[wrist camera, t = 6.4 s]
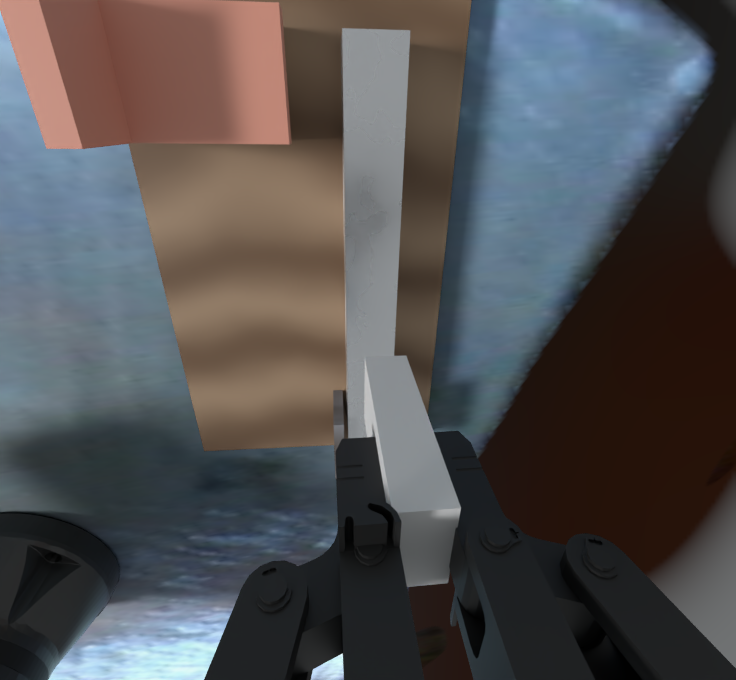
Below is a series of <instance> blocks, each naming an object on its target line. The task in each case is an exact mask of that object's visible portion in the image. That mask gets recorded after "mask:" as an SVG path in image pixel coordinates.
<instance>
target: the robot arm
mask: <svg viewBox="0 0 736 680" xmlns="http://www.w3.org/2000/svg"><path fill="white" fill-rule="evenodd" d="M364 419H365V426H366V434H367V437H364V438H347V439H342V440H341V442H340V444H339V446H338V448H337V450H336V452H335V455H336V482H337V509H338V533H337V536H336V539H335V541H334V543H333V544H332V546H331V547H330V549H329V550H327V551H326V552H325V553H324V554H323V555H322V556H320V557H318V558H316V559H315V560H312V561H310V562H308V563H305V564H303V565H301V566H298V567H297V566H296V565H295V564H292V563H290V562H287V561H272V562H269V563H267V564H265V565H262V566H260V567H259V568H258V569H256V570H255V571H254V572H253V573H252V574H251V575H249V577H248V579H247V580H246V582H245V584H244V585H243V587H242V589H241V591H240V594H239V596H238V599H237V601H236V603H235V606H234V608H233V611H232V613H231V616H230V618H229V621H228V623H227V625H226V628H225V630H224V633H223V635H222V638H221V640H220V642H219V645H218V647H217V650H216V652H215V655H214V657H213V660H212V662H211V664H210V667H209V669H208V672H207V674H206V677H205V679H204V680H310V679H311V675H312V670H313V669H314V668H316V667H318V666H319V665H321V664H323V663H325V662H327V661H329V660H331V659H333V658H334V657H336V656H338V655H340V654H342V653H343V667H344V680H424V676H423V671H422V665H421V660H420V654H419V649H418V644H417V638H416V633H415V627H414V622H413V616H412V611H411V606H410V601H409V595H408V589H407V587H411V586H421V585H432V584H443V583H448V579H449V574H450V572H451V575H452V579H453V582H454V586H455V594H454V600H453V605H452V610H451V615H450V618H451V626H456V622H457V619H458V623H459V626H460V630H461V634H462V637H463V641H464V645H465V649H466V652H467V656H468V660H469V663H470V667H471V671H472V675H473V678H474V680H736V668H735V667H734V666H733V665H732V664H731V663H730V662H729V661H728V660H727V659H726V658H725V657H724V656H723V655H722V654H721V653H720V652H719V651H718V650H717V649H716V648H715V647H714V645H713V644H712V643H711V642H710V641H709V640H708V639H707V638H706V637H705V636H704V635H703V634H702V633H701V632H700V631H699V630H698V629H697V628H696V627H695V626H694V625H693V624H692V623H691V622H690V621H689V620H688V619H687V618H686V616H685V615H684V614H683V613H682V612H681V611H680V610H679V609H678V608H677V607H676V606H675V605H674V604H673V603H672V602H671V601H670V600H669V599H668V598H667V597H666V596H665V595H664V594H663V593H662V592H661V591H660V590H659V589H658V587H656V585H655V584H654V583H653V582H652V581H651V580H650V579H649V578H648V577H647V576H646V575H645V574H644V573H643V572H642V571H641V570H640V569H639V568H638V567H637V566H636V565H635V564H634V563H633V562H632V561H631V560H630V558H629V557H628V556H627V555H625V553H624V552H623V551H621V550H620V549H619V548H618V547H617V546H615V545H614V544H613V543H612V542H610V541H608V540H606V539H604V538H602V537H600V536H596V535H592V534H587V533H585V534H578V535H575V536H573V537H572V538H570V539H569V540H568V543H567V545H562V544H558V543H553V542H549V541H544V540H540V539H537V538H533V537H530V536H528V535H526V534H524V533H522V531H521V530H520V528H519V527H518V526H517V525H515V524H514V523H513V522H512V521H510V520H509V519H507V518H506V517H505V515H504V514H503V512H502V510H501V508H500V506H499V503H498V501H497V499H496V497H495V495H494V493H493V491H492V488H491V486H490V484H489V482H488V480H487V478H486V475H485V473H484V471H483V470H482V467H481V464H480V462H479V460H478V459H477V456H476V454H475V451H474V449H473V447H472V445H471V443H470V442H469V441H468V440H467V439H466V438H465V437H464V436H463V435H462V434H461V433H460V432H459V431H448V432H434V431H433V429H432V426H431V423H430V420H429V418H428V415H427V412H426V409H425V406H424V404H423V401H422V398H421V395H420V392H419V390H418V387H417V384H416V381H415V379H414V376H413V373H412V370H411V367H410V365H409V362H408V359H407V356H406V355H405V356H380V357H365V389H364ZM118 579H119V566H118V562H117V560H116V558H115V556H114V555H113V553H112V552H111V551H110V550H109V549H108V548H107V546H105V545H104V544H103V543H102V542H101V541H100V540H98V539H97V538H96V537H94V536H93V535H91V534H89V533H88V532H86V531H84V530H82V529H80V528H78V527H75V526H73V525H70V524H68V523H65V522H62V521H59V520H55V519H52V518H47V517H42V516H37V515H29V514H13V513H9V514H0V680H48V679H49V677H50V675H51V673H52V672H53V670H54V669H55V667H56V666H57V665H58V663H59V662H60V661H61V660H62V659H63V657H64V656H65V655H66V654H67V653H68V651H69V650H70V649H71V648H72V647H73V645H74V644H75V643H76V642H77V641H78V639H79V638H80V637H81V636H82V634H83V633H84V632H85V631H86V629H87V628H88V627H89V626H90V624H91V623H92V622H93V621H94V619H95V618H96V617H97V616H98V615H99V614H100V613H101V612H102V611H103V609H104V608H105V606H106V605H107V603H108V601H109V599H110V597H111V595H112V593H113V591H114V589H115V586H116V584H117V582H118Z"/></svg>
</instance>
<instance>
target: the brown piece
mask: <svg viewBox="0 0 736 680" xmlns="http://www.w3.org/2000/svg"><path fill="white" fill-rule="evenodd" d="M223 1H251V2H279V4H280V6H281V8H282V15H283V30H284V44H285V58H286V72H287V86H288V100H289V114H290V128H291V142H292V143H291V144H180V143H129V147H130V151H131V155H132V159H133V163H134V167H135V172H136V176H137V180H138V184H139V188H140V192H141V196H142V200H143V204H144V208H145V212H146V216H147V220H148V224H149V229H150V233H151V237H152V241H153V245H154V249H155V253H156V257H157V261H158V265H159V269H160V273H161V277H162V281H163V285H164V290H165V294H166V298H167V302H168V306H169V310H170V314H171V318H172V322H173V326H174V330H175V334H176V338H177V342H178V347H179V351H180V355H181V359H182V363H183V367H184V371H185V375H186V379H187V383H188V387H189V391H190V395H191V399H192V404H193V408H194V412H195V416H196V420H197V424H198V428H199V432H200V436H201V440H202V444H203V448H204V451H217V450H239V449H260V448H281V447H302V446H323V445H334V452H336V450H337V448H338V446H339V444H340V442H341V440H342V439H347V438H348V421H347V358H346V294H345V230H344V167H343V103H342V40H341V34H342V28H353V29H385V30H410V48H409V68H408V88H407V108H406V128H405V148H404V168H403V188H402V208H401V228H400V247H399V267H398V287H397V307H396V327H395V347H394V356H405V355H406V356H407V359H408V362H409V365H410V367H411V370H412V373H413V376H414V379H415V381H416V384H417V387H418V390H419V392H420V395H421V398H422V401H423V404H424V406H425V409H426V412H427V415H428V408H429V398H430V389H431V379H432V370H433V360H434V351H435V341H436V332H437V322H438V313H439V304H440V294H441V285H442V275H443V266H444V256H445V247H446V237H447V228H448V218H449V209H450V200H451V190H452V181H453V171H454V162H455V152H456V143H457V133H458V124H459V114H460V105H461V95H462V86H463V77H464V67H465V58H466V48H467V39H468V29H469V20H470V10H471V1H472V0H223ZM335 478H336V455H335Z"/></svg>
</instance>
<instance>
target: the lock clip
mask: <svg viewBox="0 0 736 680" xmlns="http://www.w3.org/2000/svg"><path fill="white" fill-rule="evenodd" d="M0 11H1V14H2V17H3V20H4V23H5V26H6V29H7V32H8V35H9V38H10V41H11V44H12V47H13V50H14V53H15V56H16V59H17V62H18V65H19V68H20V71H21V74H22V77H23V80H24V83H25V86H26V89H27V92H28V95H29V98H30V101H31V104H32V106H33V109H34V112H35V115H36V118H37V121H38V124H39V127H40V130H41V133H42V136H43V139H44V142H45V145H46V148H47V149H86V148H95V147H103V146H111V145H120V144H128V143H180V144H291V143H292V142H291V128H290V114H289V100H288V86H287V72H286V58H285V44H284V30H283V15H282V8H281V6H280V4H279V2H251V1H223V0H0Z"/></svg>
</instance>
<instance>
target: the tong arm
mask: <svg viewBox="0 0 736 680" xmlns="http://www.w3.org/2000/svg"><path fill="white" fill-rule="evenodd" d="M341 40H342V103H343V167H344V230H345V294H346V358H347V421H348V438H364V437H367V434H366V426H365V419H364V389H365V357H380V356H394V347H395V327H396V307H397V287H398V267H399V247H400V228H401V208H402V188H403V168H404V148H405V128H406V108H407V88H408V68H409V48H410V30H385V29H353V28H342V34H341Z"/></svg>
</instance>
